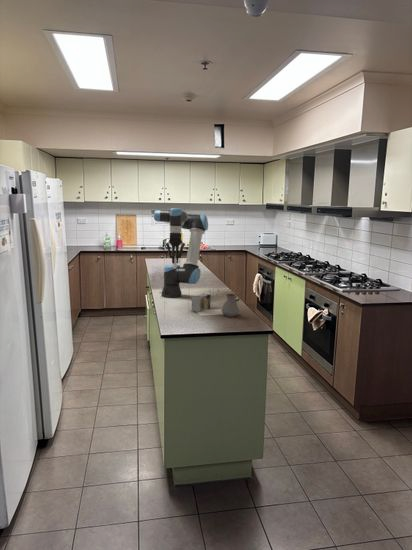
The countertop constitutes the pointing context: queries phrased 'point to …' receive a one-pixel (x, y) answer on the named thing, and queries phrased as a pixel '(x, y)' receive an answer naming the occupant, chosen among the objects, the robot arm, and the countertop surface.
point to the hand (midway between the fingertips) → (174, 268)
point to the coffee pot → (231, 306)
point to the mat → (211, 312)
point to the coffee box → (201, 302)
